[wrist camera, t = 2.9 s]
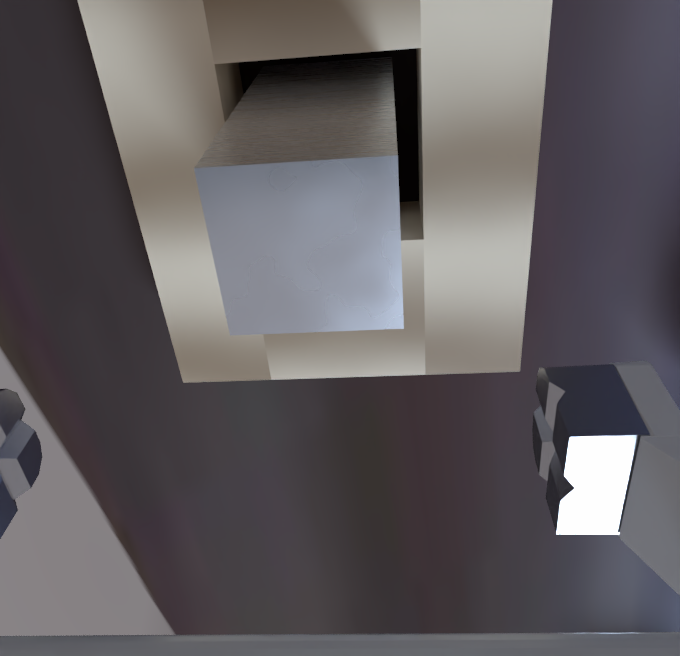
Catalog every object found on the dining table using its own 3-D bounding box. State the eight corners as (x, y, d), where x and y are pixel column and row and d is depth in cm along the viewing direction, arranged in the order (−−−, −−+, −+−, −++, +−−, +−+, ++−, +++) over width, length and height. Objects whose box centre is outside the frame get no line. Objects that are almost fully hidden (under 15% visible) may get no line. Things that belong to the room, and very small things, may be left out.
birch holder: (81, -160, 17) (30, -169, 15) (543, -212, 16) (572, -231, 14) (202, 335, 26) (183, 382, 24) (506, 323, 25) (519, 371, 22)
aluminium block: (263, 66, 20) (193, 168, 13) (391, 56, 20) (397, 155, 12) (280, 188, 22) (230, 335, 15) (396, 181, 22) (403, 328, 15)
